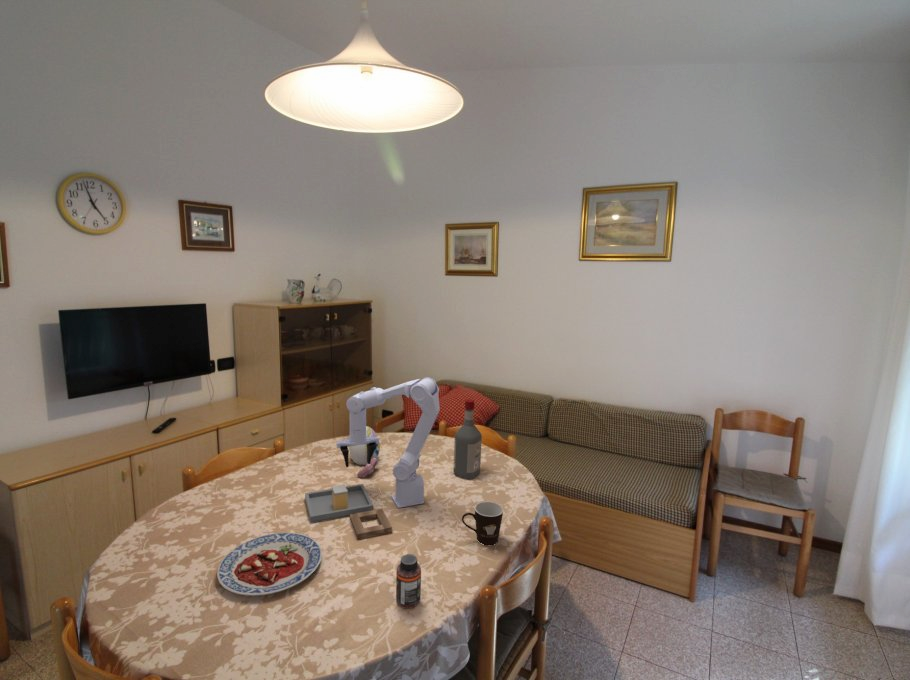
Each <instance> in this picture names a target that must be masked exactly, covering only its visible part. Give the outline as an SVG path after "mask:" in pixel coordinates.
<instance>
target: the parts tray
mask: <svg viewBox="0 0 910 680" xmlns="http://www.w3.org/2000/svg"><path fill="white" fill-rule="evenodd" d="M345 487H346V489H347V491H348V493H347V509H342V510H336V511H334V508H333V506H332V488H328V489H323V490H315V491H311V492H310V491H309V492H305V493H304V500H305V505H306V509H307V513H308V518H309V521H310V524H315V523H319V522H326V521H330V520H336V519H340V518H346V517H350V514H355V513H361V512H366V511H372V510H375V505H374V503H373V502H372V499H371V497H370V495H369V493H368V491H367V489H366V487H365V484H364V483H360V484H355V485H349V486H345Z"/></svg>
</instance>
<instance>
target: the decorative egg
mask: <svg viewBox="0 0 910 680" xmlns="http://www.w3.org/2000/svg"><path fill="white" fill-rule="evenodd" d="M366 437H378V435H377V433H376V431H374V429H373V428H371V427H370V426H367V425H366ZM380 446H381V445H380V442H379V443H378V444H376V449H375V451H374V453H373V455H372V458H371V459H373V458H376V459H378V456H379V454H380V449H381V447H380ZM348 447H349V448H348V450H349V455H350V458H351V460H352V461H353V462H354V463H355V464H357V465H359V466H366V464H367V444H364V445H356V446H348Z"/></svg>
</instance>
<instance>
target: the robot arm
mask: <svg viewBox="0 0 910 680" xmlns="http://www.w3.org/2000/svg"><path fill="white" fill-rule="evenodd" d="M439 392H440V388H439V387H438V384H437V383H436V380H435V379H433V378H431V377H423V378H422V379H421V378H417V379H413V380H410V381H409V380H408V381H406V382H403V383H401V384H397V385H394V386H391V387H388V388H386V389H383V388H381V387H376V386H374V387H371V388H370V390H366V391H359V393H356V394H354V395H352V396H350V397H349V398H348V399H346V408H347V410H348V412H349V437H348V438H346V439H343V440H337V441H336V445H335V447H336V448H337V449H340V451H341V453H342V456H343V460H344V464H345V467H346V468H349V455H350V451H349V448H348V447H349V446H356V445H364V444H367V463H368V464H370V462H371V458H372V455H373V453H374V451H375V449H376V444H378V443H379V444H380V438H379V436H377V437H366V426H367V410H368V409H371V408H374V407H377V406H380V405H384V404H385V403H386V400H388V399H392V398H395V397H400V396H403V395H404V396H406V397H407V398H409V399H410V398H411V399H412V401H414V403H415V404H416V405H417V406H418V407H419V409H420V410H421V411H422V412H421V415H420V416H419V417H420V418H419V420H418V422H417V424H416V426H415V428H414V431H413V433H412V436H411V437H410V440H409V442H408V444H407V447H406V449H405V451H404V453H403V454H402V455H401V456H400V459H399V460H398V462H397V463H396V464H395V465H394V466H393V468H392V474H393V476H394V478H395V490H394V491H395V494H394V495H392V496H391V499H392V500H393V502H394V504H395V506H396V507H397V508H398V509H399V508H404V507H406V508H407V507H411V506H416V505H421V504H425V501H424V500H425V499H424V498H425V497H424V495H425V492H424V491H425V487H424V486H425V484H424V478H423V476H422V474H421V473H420V474H419V473H417V470H418V468H419V466H420V458H421V452H422V450H423V448H424V447H425V444H426V441H427V439H428V437H429V435H430V433H431V430H432V428H433V426H434V424H435V422H436V421H437V417H438V415H439V413H440V411H441V409H440V408H441V407H440V399H439Z"/></svg>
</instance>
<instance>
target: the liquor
mask: <svg viewBox="0 0 910 680" xmlns="http://www.w3.org/2000/svg"><path fill="white" fill-rule="evenodd" d="M474 409H475V400H474V399H468V398H467V399H465V400H464V419H463V420H464V421H463V424H462V425H461V426H460V427H459V428H458V429H457V431H455V432H454V443H453V444H454V448H453V449H454V451H453V473H454V475H455V477H457V476H458V478H461V479H464V480H474V479H475V478H476V477H477V476H478V475H480V473H481V462H482V460H481V459H482V458H481V457H482V433H481V431H480V430H479V429H478V428H477V427H476V425H475V423H474V411H475V410H474Z"/></svg>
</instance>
